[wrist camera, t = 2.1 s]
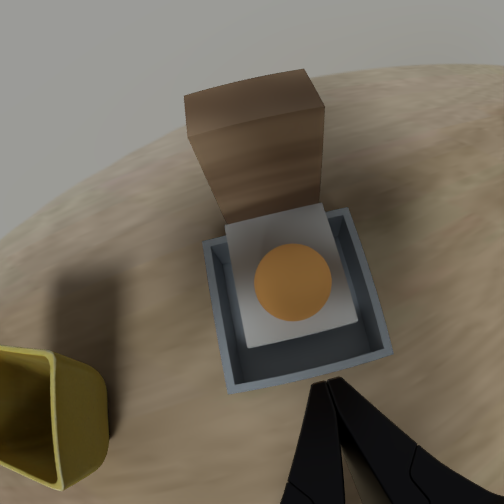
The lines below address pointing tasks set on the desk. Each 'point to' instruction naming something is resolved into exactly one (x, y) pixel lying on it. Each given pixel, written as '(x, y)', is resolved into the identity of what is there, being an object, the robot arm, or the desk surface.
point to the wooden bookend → (268, 188)
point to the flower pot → (51, 416)
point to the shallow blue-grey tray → (306, 347)
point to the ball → (292, 282)
